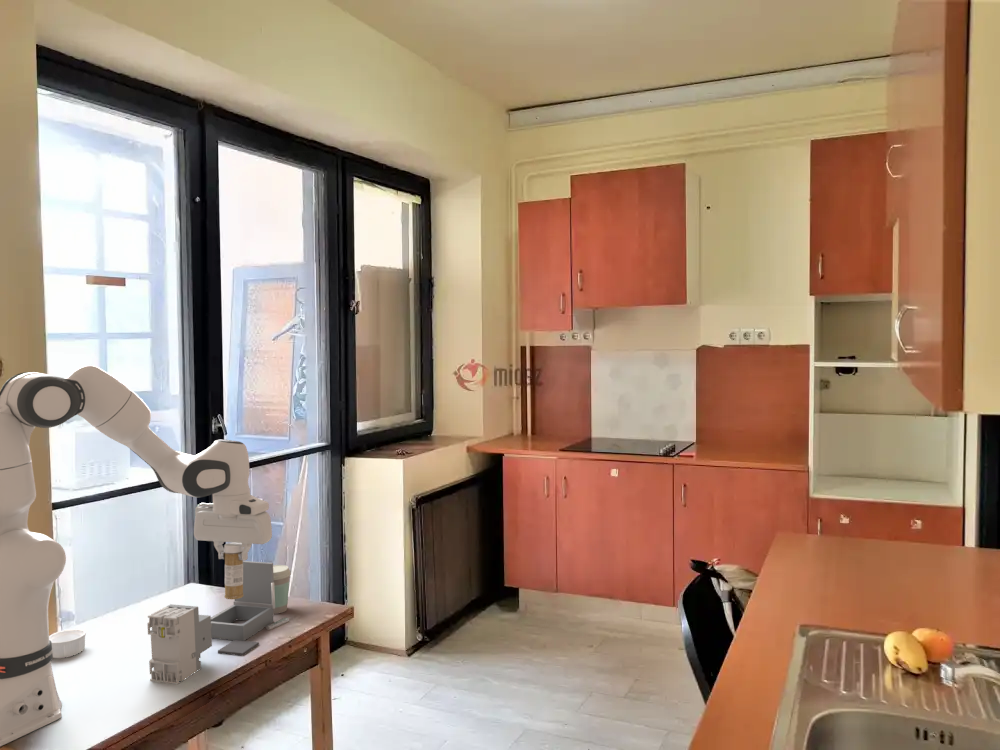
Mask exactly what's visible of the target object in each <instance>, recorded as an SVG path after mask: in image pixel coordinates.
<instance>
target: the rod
mask: <svg viewBox="0 0 1000 750" xmlns="http://www.w3.org/2000/svg"><path fill="white" fill-rule="evenodd" d="M288 622H290V618H289V617H284V618H282V619H280V620H276V621H274V622H272V623H271V624H269V625H267V626H266V627H265V628H266V630H268V631H270V630H273V629H275V628H277V627H279V626H281V625H284V624H286V623H288Z"/></svg>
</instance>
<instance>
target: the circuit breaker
mask: <svg viewBox="0 0 1000 750" xmlns="http://www.w3.org/2000/svg"><path fill="white" fill-rule="evenodd" d="M199 612H200V611H199V606H197V605H196V606H195V605H183V604H171V603H170V604H169V605H166V606H165V607H162V608H160V609H159V610H157V611H154V612H153V613H151V614H149V615H147V618H148V622H147V635H148V636H150V644H151V646H150V647H151V659H149V663H148V664H149V675H150V677H151V678H150V680H149V681H151V682H156V683H157V682H158V683H166V684H173V683H177V684H176V685H179V684H180V682H179V681H181V682H183V681H182V680H184V679H185V678H187V677H188V676H190V675H191V674H192V673H194V672H196V671H197V670H199V669H200V668H201V669H202V662H201V660H200V659H201V658H202V657H201V654H202V653H203V652H205V651H206V650H208V649H210V648H212V647H213V641H212V640H213V638H212V635H211V627H212V624H211V617H212V616H211V615H208V614H200V613H199ZM201 669H200V670H201ZM200 670H199V671H200ZM197 672H198V671H197ZM197 672H196V673H197ZM194 674H195V673H194ZM191 676H192V675H191ZM191 676H190V677H191ZM188 678H189V677H188ZM188 678H187V679H188ZM185 680H186V679H185ZM185 680H184V681H185ZM178 683H179V684H178Z"/></svg>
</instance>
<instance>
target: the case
mask: <svg viewBox="0 0 1000 750" xmlns="http://www.w3.org/2000/svg"><path fill="white" fill-rule="evenodd" d="M273 565H274V563H273V562H263V561H248V560H245V561H243V597H242V598H239V599H234V601H233V604H232V605H230V606H228V607H227V608H225V609H223V610H221V611H220V612H218V613H217V614H215V615H213V616H211V624H212V627H211V635H212V639H216V638H221V639H220V640H226V639H228V641H234V640H242V641H247V640H248V639H249V637H250V638H251V637H253V636H255V633H256V634H257V633H258V631H259V632H260V631H262V630H263V629H265V628H266V626H267V625H270V624H272V623H274V622H275V621H274V614H273V609H275V590H274V575H273ZM236 619H238V620H237V621H245V620H248V621H245V622H243V623H233V622H235V621H236ZM231 622H232V623H231ZM264 627H265V628H264ZM261 629H262V630H261ZM252 635H253V636H252ZM246 639H247V640H246Z"/></svg>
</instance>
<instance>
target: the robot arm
mask: <svg viewBox="0 0 1000 750" xmlns="http://www.w3.org/2000/svg"><path fill="white" fill-rule="evenodd" d="M151 414H152V413H151V409H150V408H149V406H148V405H147V404H146V402H144V400H143V399H142V398H141V397H140V396H139V395H138V394H137V393H136V392H134V391H133V390H132V389H131V388H130V387H129V386H128V385H126V384H125V383H124V382H122V381H121V380H119V379H118V378H117V377H115V376H113V375H112V374H110V373H109V372H107V371H106V370H104V369H102V368H100V367H98V366H95V365H92V364H91V365H90V364H89V365H84V366H80V367H79V368H76V369H75V370H73V371H72V372H70V374H69V375H68V376H67V377H59V376H55V375H51V374H49V373H45V372H38V371H37V372H35V371H25V372H20V373H17V374H14V375H13V376H12V377H10V378H9V379H7V380H6V381H5V382H4V384H3V385H2V387H1V389H0V747H2V746H4V745H6V744H9V743H11V742H12V741H15V740H17V739H19V738H22V737H23V736H26V735H28V734H30V733H32V732H34V731H36V730H38V729H40V728H42V727H45V726H47V725H49V724H50V723H53V722H55V721H57V720H59V719H61V717H62V711H61V708H62V706H63V705H62V704H63V703H62V700H61V699H60V696H59V694H58V691H57V687H56V683H55V677H54V672H53V667H52V660H53V659H54V658H53V653H52V652H53V650H52V642H51V641H50V640H49V636H50V631H49V630H50V629H49V627H50V626H49V605H50V603H49V602H50V596H51V593H52V588H53V586H54V584H55V581H56V580H58V579H59V577H60V576H61V574H63V571H64V569H65V567H66V561H67V556H66V555H67V554H66V551H65V549H64V547H63V546H62V545H61V544H60V543H59V542H57V541H56V540H55V539H53V538H51V537H50V536H48V535H46V534H44V533H40V532H34V531H31V530H30V528H29V526H28V521H29V520H28V519H29V512H30V509H31V508H30V507H31V506H32V504H33V503H34V502H35V500H36V498H37V490H36V489H37V488H36V482H35V475H34V468H33V461H32V453H31V449H30V441H31V437H32V434H33V431H34V430H35V429H36V428H41V429H49V428H55V427H58V426H60V425H62V424H65V423H66V422H68V421H69V420H70V419H72V418H73V417H76V416H78V417H81V418H82V419H84V420H85V421H86V422H87V423H89V424H90V425H91V426H92V427H93V428H95V429H96V430H97V431H99V432H101V434H103V435H105V436H106V437H108V438H110V439H111V440H113V441H115V442H118V443H119V444H121V445H124V446H125V447H127V448H128V449H129V450H130V451H132V452H133V453H134V454H136V456H137V457H139V458H140V459H141V460H142V461H144V462H145V464H147V465H148V466H149V467H150V468H151V469H152V470H153V472H154V475H156V476H155V477H156V478H157V481H158V482H159V484H160V486H161V487H162V488H163V489H164V490H166V491H167V492H170V493H173V494H174V493H175V494H181V495H184V496H189V497H192V498H205V497H208V496H211V495H212V503H211V502H209V503H206V502H201V503H199V504H197V506H196V507H195V510H194V511H195V512H194V514H195V515H194V516H195V518H194V525H193V537H194V538H195V540H196V541H206V542H213V546H214V548H215V550H216V551H217V553H218V555H217V556H218V560H225V552H224V545H223V544H224V543H232V542H233V543H242V547H243V548H244V549H243V551H242V552H241V553H239V554H238V556H239V560H241V561H248V558H249V557H248V554H249V551H250V549H251V548H252V545H265V544H267V543H268V542H270V540H271V539H272V536H273V527H272V520H271V519H272V518H271V516H270V513H268V512H267V511H268V510H269V508H270V507H269V506H270V505H269V502H268V501H266V500H264V499H261V498H258V497H256V496H254V495H251V489H250V485H249V477H250V460H249V459H250V457H249V453H248V452H249V451H248V449H247V446H246V445H245V443H243V442H242V441H238V440H231V439H216V440H214V441H213V443H212V444H210V446H208V447H207V448H206V449H204V450H202V451H201V452H199V453H197V454H195V455H193V454H190V453H186V452H183V451H180V450H179V451H178V450H177V449H176V450H175V449H173V448H172V447H170V445H168V444H167V443H166V442H165V441H164V440H162V438H161V437H159V436H158V435H157V434H156V433H155V432H154V431H153V430H152V429H151V427H150V426H149V425H150V424H151V420H152V419H151V416H152V415H151Z"/></svg>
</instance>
